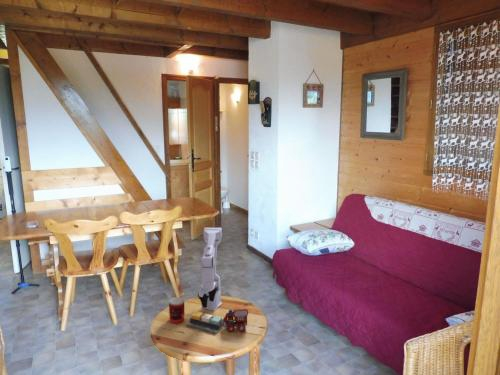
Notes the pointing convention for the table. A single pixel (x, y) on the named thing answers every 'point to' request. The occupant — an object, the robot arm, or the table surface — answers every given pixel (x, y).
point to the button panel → (205, 325)
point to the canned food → (176, 310)
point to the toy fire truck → (236, 320)
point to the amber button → (197, 315)
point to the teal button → (216, 320)
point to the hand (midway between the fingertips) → (208, 304)
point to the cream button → (207, 318)
